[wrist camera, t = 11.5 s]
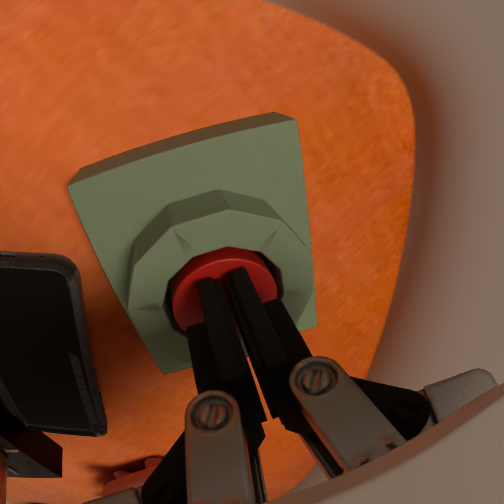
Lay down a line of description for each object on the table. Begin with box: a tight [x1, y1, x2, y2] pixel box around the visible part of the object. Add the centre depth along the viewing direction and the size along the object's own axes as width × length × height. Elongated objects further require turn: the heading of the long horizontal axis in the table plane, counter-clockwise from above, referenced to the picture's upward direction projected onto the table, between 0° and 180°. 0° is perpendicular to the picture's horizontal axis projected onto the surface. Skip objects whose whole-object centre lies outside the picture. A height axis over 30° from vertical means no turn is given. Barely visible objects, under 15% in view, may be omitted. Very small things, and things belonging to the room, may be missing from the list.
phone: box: [0, 251, 107, 437], centre depth 15 cm, size 8×1×15 cm
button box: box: [67, 112, 317, 375], centre depth 13 cm, size 10×8×4 cm
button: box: [169, 246, 277, 338], centre depth 11 cm, size 4×4×2 cm
